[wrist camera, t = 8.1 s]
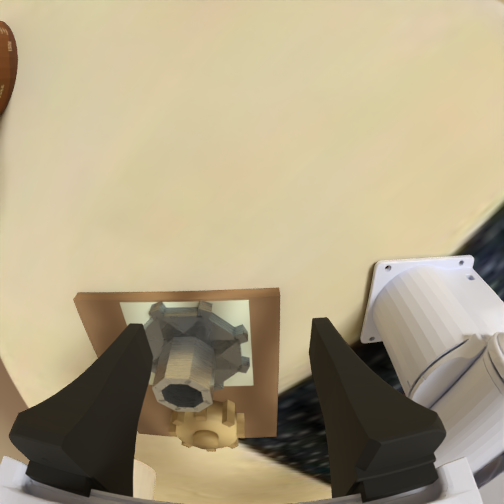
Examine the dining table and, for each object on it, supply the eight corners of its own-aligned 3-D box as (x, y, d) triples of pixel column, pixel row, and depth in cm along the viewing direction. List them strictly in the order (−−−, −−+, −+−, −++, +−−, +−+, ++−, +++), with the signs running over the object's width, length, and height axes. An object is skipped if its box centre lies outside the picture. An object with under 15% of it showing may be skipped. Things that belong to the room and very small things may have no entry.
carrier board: (278, 287, 24) (285, 329, 20) (275, 429, 33) (278, 462, 29) (77, 292, 24) (55, 328, 20) (140, 426, 33) (133, 457, 29)
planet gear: (245, 298, 23) (246, 350, 18) (251, 381, 27) (252, 429, 23) (121, 301, 23) (99, 348, 18) (149, 380, 27) (139, 425, 23)
